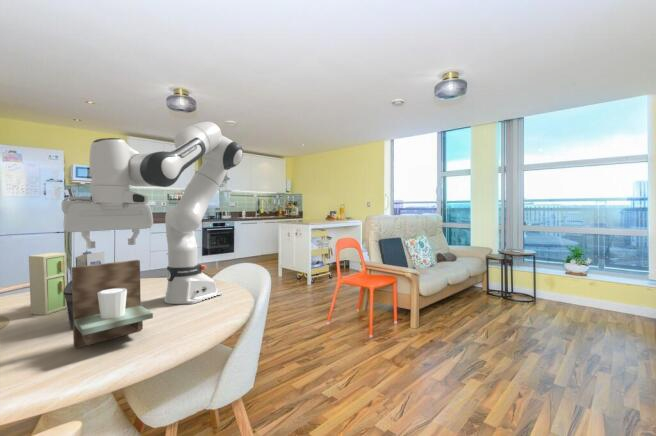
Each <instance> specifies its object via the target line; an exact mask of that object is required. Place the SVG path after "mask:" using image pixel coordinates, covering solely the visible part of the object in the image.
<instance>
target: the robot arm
mask: <svg viewBox="0 0 656 436" xmlns="http://www.w3.org/2000/svg"><path fill="white" fill-rule="evenodd" d="M173 139H174V148H175V149H173V150H171V151H156V152H151V153H141V152H139V151H137V150H135V149H134V148H132V147H130V145H128V144H127V142H126V141H125V139H123V138H121V137H119V138H118V137H106V138H97V139H95V140H93V141H92V142H91V145H90V149H89V161H88V162H89V171H90V174H91V180H90V185H89V187H90V196H88V195H87V196H86V195H85V196H75V195H74V196H73V195H70V196H68V197H67V198H64V199H63V200H62V201H61V210H62V212H63V213H64V215H63V216H64V217H63V230H64V231H66V232H67V233H81V237H82V238H83V239H84V240H85V242H86V247H87V250H88V249H96V241H94V240H91V239H90V238H89V237H88V236H90V235H91V233H90V232H97V231H98V232H99V231H100V232H101V231H102V232H103V231H104V232H105V231H118V230H119V231H120V230H131V232H132V233H133V234H132V236H131V238H127V245H128V246H132V245H133V246H134V245H136V239H137V238H138V235H139V234H140V232H141V231H140V229H151V228H152V227H153V225H154V218H153V217H154V216H153V211H152V208H151V206H150V205H149V204H148V203H149V201H150V200H149V196H147V195H146V194H145V195H144V194H142V193H139V192H134V191H131V190H130V186H131V187H161V188H168V187H170V186H173V185H175V183H176V182H177V181H178V180H179V179H180V176H181V175H182V174H183V172H184V171H185V170H186V169H188V167H190V166H192V165H193V164H194V163H196V162H197V161H198V160H199V159H200V158H202V157H204V158H206V160H205V161H204V162H203V163H202V164H201V165H200V167H199V168H198V169H197V171H196V172H195V173H194V175H193V177H192V178H191V180H190V181H189V183H188V184H187V185H186V187H185V189H184V191H183V193H182V195H181V198H180V200H179V201H178V203H177V204H176V205H174V206H171V207H170V208H169V209H168V210H167V211H166V213H165V217H164V221H165V224H164V225H165V235H166V241H167V266H166V281H167V284H166V291H165V297H164V300H163V302H165V303H166V304H170V305H171V304H172V305H181V304H188V305H193V304H197V303H200V302H203V301H202V300H204V301H206V300H205V299H207V300H209V299H208V298H210V299H212V298H211V297H213V296H216V295H219V294H221V293H222V290H220V289H218V288H217V284H216V282H215V280H214V279H213V278H212V277H210V276H208V275H207V274H206V273H204V272H202V271H206V270H207V265H205V264H199V263H198V244H197V239H196V233H195V231H196V230H198V229H199V227H200V226H201V224H202V220H203V218H204V217H205V214H206V212H207V209H208V207H209V205H210V203H211V201H212V200H213V198H214V196H215V195H216V193H217V191H218V190H219V188H220V187H221V185H222V183H223V182H224V179H225V178H226V176H227V172H228V170H229V171H230V170H231V169H232V168H235V167H237V166H238V165H239V164H240V162H241V161H242V159H243V156H244V150H243V147H242V145H240V143H238V142H237V141H233V140H231V139H230V138H228V137H226V136H224V135H223V134H222V130H221V128H220V127H219V126H218V125H217V124H216V123H215V122H212V121H201V122H197V123H194V124H191V125H189V126H186V127H184V128H183V129H181V130H180V131H178V132H177V133H176V134H175V135H174V138H173ZM222 294H223V293H222ZM216 297H217V296H216ZM213 298H214V297H213Z"/></svg>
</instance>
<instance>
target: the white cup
mask: <svg viewBox="0 0 656 436" xmlns="http://www.w3.org/2000/svg"><path fill="white" fill-rule="evenodd" d="M97 294H98V301H99V309H100V316H101V318H102V319H111V318H117V317H120V316H122V315H124V314H125V306H126V295H127V289H126V288H112V289H106V290H102V291H99V292H98V293H97Z"/></svg>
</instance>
